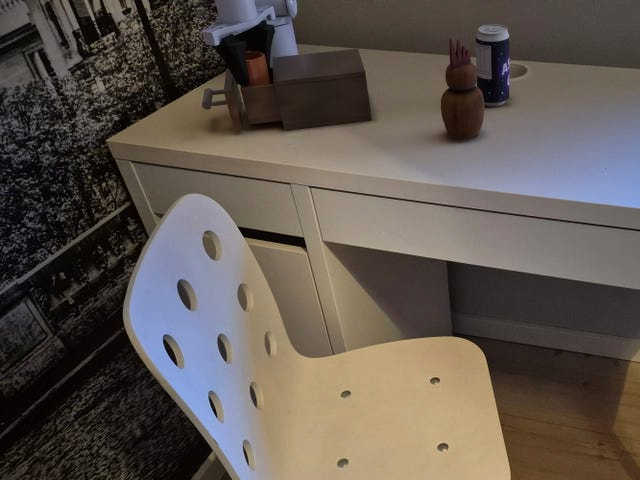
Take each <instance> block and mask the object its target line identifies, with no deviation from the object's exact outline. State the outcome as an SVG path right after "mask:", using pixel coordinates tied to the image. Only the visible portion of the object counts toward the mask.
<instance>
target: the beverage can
mask: <svg viewBox="0 0 640 480" xmlns="http://www.w3.org/2000/svg"><path fill="white" fill-rule="evenodd" d="M510 53H511V36H510V34H509V32H508V27H507V26H506V25H502V24H493V23H492V24H484V25H480V26H479V27H478V28H477V33H476V35H475V66H476V68H477V83H476V87H478V88H479V89H480V90H481V91H482V93H483V97H484V106H487V107H498V106H502V105H504V104H505V103H506V102H507V101H508V100H509V98H510V75H511V74H510V73H511V71H510V64H511V63H510V61H511V59H510V57H511V56H510V55H511V54H510Z"/></svg>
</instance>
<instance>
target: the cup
mask: <svg viewBox="0 0 640 480" xmlns="http://www.w3.org/2000/svg"><path fill="white" fill-rule="evenodd" d="M245 56H246V66H247V71H248V76H249V85H247V86H244V85H239V87H248V86H257V85H266V84H271V81H270V77H269V72H268V68H267V64H266V59H265V55H264V54H263V53H262V52H259V51H251V50H248V51H245Z"/></svg>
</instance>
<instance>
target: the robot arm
mask: <svg viewBox="0 0 640 480" xmlns="http://www.w3.org/2000/svg"><path fill="white" fill-rule="evenodd" d="M214 3H215V7H216V10H217V14H218V15H217V16H215V19H216V21H215V22H214V23H212V24H211V25H210V26H209V27H207V28H205V29H203V30H201V33H202V37H203V40H204V43H205V44H204V45H207V46H210V47H211V48H212V49H213V50H214V51H215V52H216V53H217V54H218V55H219V57H220V58H221V59H222V61H223V62H224V64H225V65H226V66H227V69H229V70H230V72H231V74H232V75H233V77H234V79H235V81H236V83H237V84H238V86H240V85H244V86H247V85H249V76H248V71H247V66H246V56H245V52H246V50H247V49H246V47H247V45H248V48H249V51H259V52H262V53H263V54H264V55H265V59H266V64H267V68H268V72H269V74H270V67H273V59H272V58H273V57H281V56H291V55H299V51H298V45H297V41H296V36H295V35H296V34H295V31H294V26H293V20H292V19H295V18H296V17H297V14H298V4H297V0H214ZM241 33H242V35H243V37H244V38H245V41H243V40H238V38H237V37H235V36H236V35H239V34H241Z"/></svg>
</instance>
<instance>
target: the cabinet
mask: <svg viewBox="0 0 640 480" xmlns="http://www.w3.org/2000/svg"><path fill="white" fill-rule="evenodd" d="M272 59H273V83H274V87H275V92H276V96H277V100H278V105H279V109H280V113H281V118H282V121H281V122H282V126H283V131H293V130H301V129H309V128H319V127H325V126H335V125H344V124H350V123H351V124H353V123H360V122H369V121H372V120H373V117H372V110H371V104H370V96H369V95H370V94H369V88H368V80H367V73H366V69H365V65H364V63H363V60H362V57H361V54H360V51H359V49H358V48H351V49H350V48H349V49H341V50H332V51H331V50H329V51H322V52H320V51H319V52H311V53H302V54H298V55H291V56H281V57H273V58H272Z"/></svg>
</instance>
